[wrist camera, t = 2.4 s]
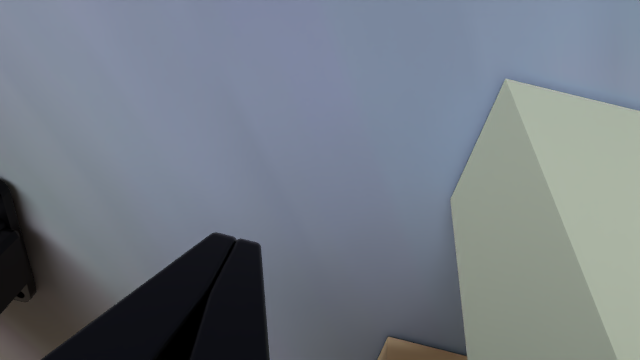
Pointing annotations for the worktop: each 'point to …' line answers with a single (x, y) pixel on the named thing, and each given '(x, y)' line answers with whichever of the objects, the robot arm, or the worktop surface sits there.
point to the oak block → (414, 352)
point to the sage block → (550, 230)
